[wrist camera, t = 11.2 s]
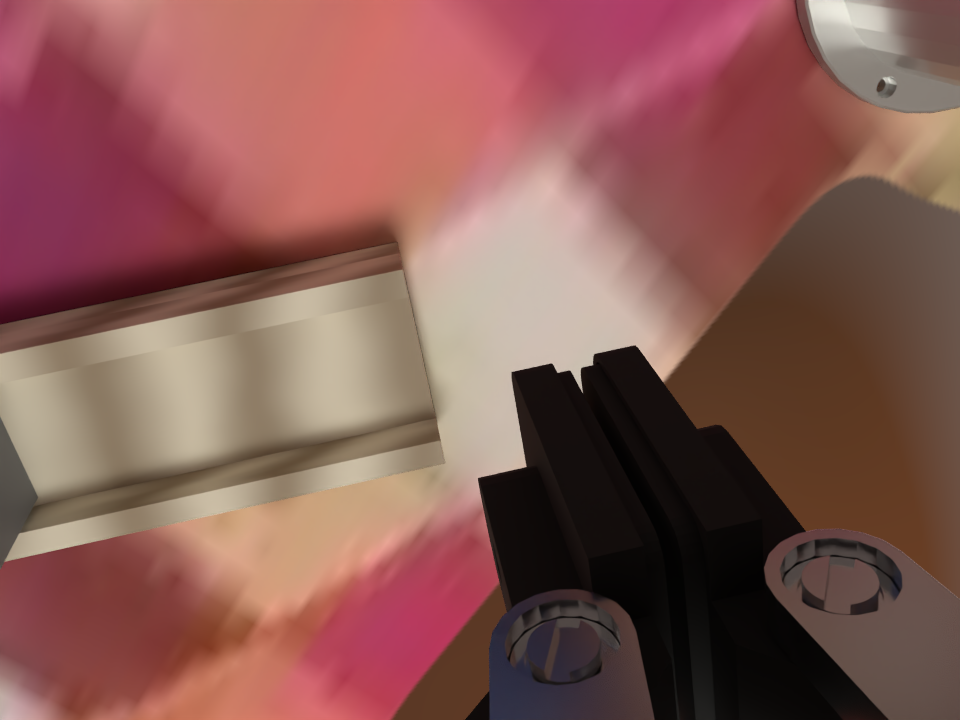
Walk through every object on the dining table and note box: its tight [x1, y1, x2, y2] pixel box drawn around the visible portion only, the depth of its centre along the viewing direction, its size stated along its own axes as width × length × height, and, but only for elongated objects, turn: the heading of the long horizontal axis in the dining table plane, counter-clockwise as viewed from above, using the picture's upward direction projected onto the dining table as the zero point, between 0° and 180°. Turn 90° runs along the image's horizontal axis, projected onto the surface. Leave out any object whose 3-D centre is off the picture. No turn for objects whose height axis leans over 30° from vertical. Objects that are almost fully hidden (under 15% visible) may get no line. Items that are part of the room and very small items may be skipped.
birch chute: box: [0, 242, 445, 562], centre depth 38 cm, size 26×9×4 cm, turn 100°
